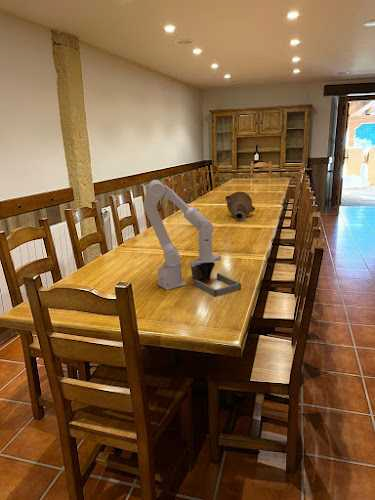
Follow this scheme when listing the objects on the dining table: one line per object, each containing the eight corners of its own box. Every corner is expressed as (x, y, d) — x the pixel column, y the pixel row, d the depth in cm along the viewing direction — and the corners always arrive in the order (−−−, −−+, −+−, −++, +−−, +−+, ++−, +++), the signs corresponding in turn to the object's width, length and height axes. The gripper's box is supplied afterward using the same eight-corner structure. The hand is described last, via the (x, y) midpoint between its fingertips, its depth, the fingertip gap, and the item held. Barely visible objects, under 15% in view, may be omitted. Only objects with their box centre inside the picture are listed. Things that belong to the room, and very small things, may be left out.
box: (203, 275, 168) (201, 259, 168) (211, 276, 163) (208, 259, 162) (192, 278, 165) (189, 262, 165) (199, 279, 160) (196, 262, 159)
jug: (231, 214, 304) (228, 228, 277) (225, 191, 296) (221, 204, 270) (256, 209, 298) (255, 223, 272) (250, 185, 290) (250, 198, 264)
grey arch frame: (215, 296, 145) (215, 290, 144) (194, 285, 158) (193, 279, 157) (240, 289, 151) (240, 283, 150) (218, 278, 164) (218, 273, 163)
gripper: (196, 253, 150) (197, 285, 154) (225, 247, 157) (225, 277, 161) (186, 250, 156) (188, 280, 159) (215, 243, 163) (216, 273, 167)
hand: (206, 279), depth 160 cm, fingers closed, pressing on box
